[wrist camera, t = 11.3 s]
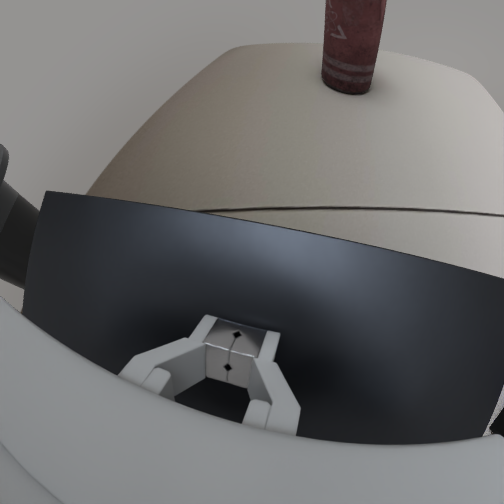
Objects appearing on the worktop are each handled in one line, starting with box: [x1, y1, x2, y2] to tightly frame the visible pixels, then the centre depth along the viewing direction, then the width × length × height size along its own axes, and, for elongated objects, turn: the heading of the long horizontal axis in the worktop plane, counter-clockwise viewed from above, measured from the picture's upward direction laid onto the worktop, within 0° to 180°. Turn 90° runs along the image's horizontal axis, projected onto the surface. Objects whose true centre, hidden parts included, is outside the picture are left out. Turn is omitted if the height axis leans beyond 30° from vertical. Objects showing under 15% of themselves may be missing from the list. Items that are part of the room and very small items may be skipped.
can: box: [321, 0, 386, 94], centre depth 20 cm, size 6×6×14 cm
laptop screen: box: [22, 191, 504, 445], centre depth 11 cm, size 21×30×1 cm
